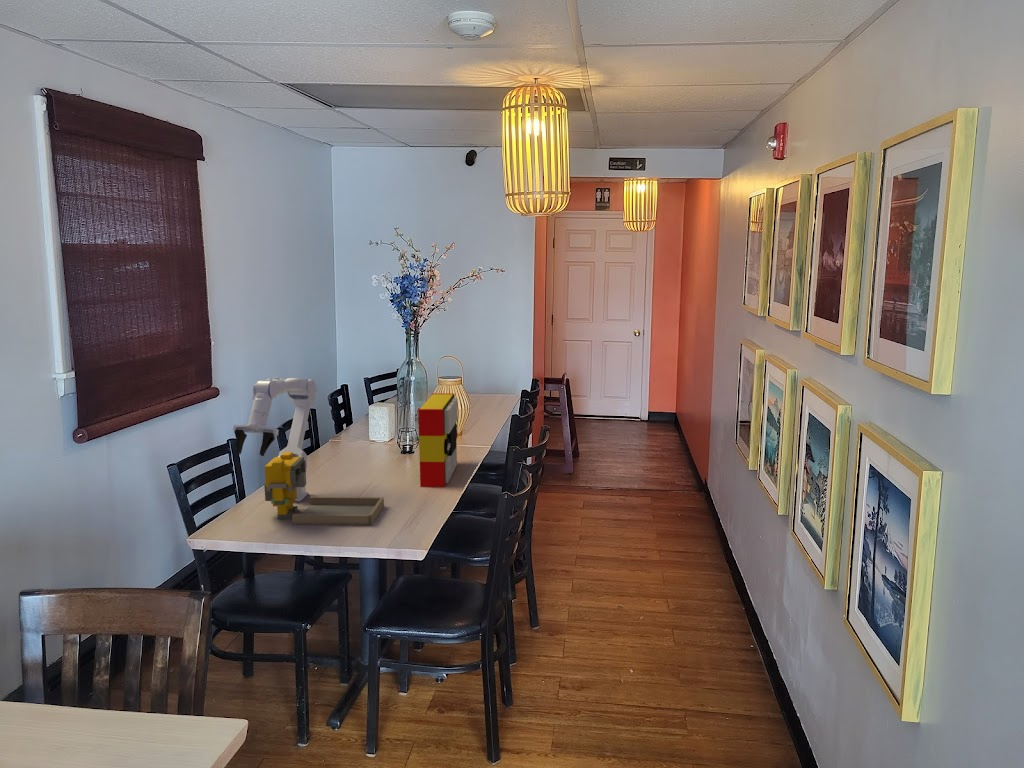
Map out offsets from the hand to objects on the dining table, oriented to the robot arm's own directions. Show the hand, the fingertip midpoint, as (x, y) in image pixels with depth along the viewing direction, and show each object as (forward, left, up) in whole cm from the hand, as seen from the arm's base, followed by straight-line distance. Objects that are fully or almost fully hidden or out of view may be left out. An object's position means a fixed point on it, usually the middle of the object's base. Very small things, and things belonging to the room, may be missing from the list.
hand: (250, 454), depth 250 cm
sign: (-58, +53, -24) cm, 82 cm away
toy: (-9, +8, -24) cm, 27 cm away
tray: (-9, +26, -24) cm, 36 cm away
